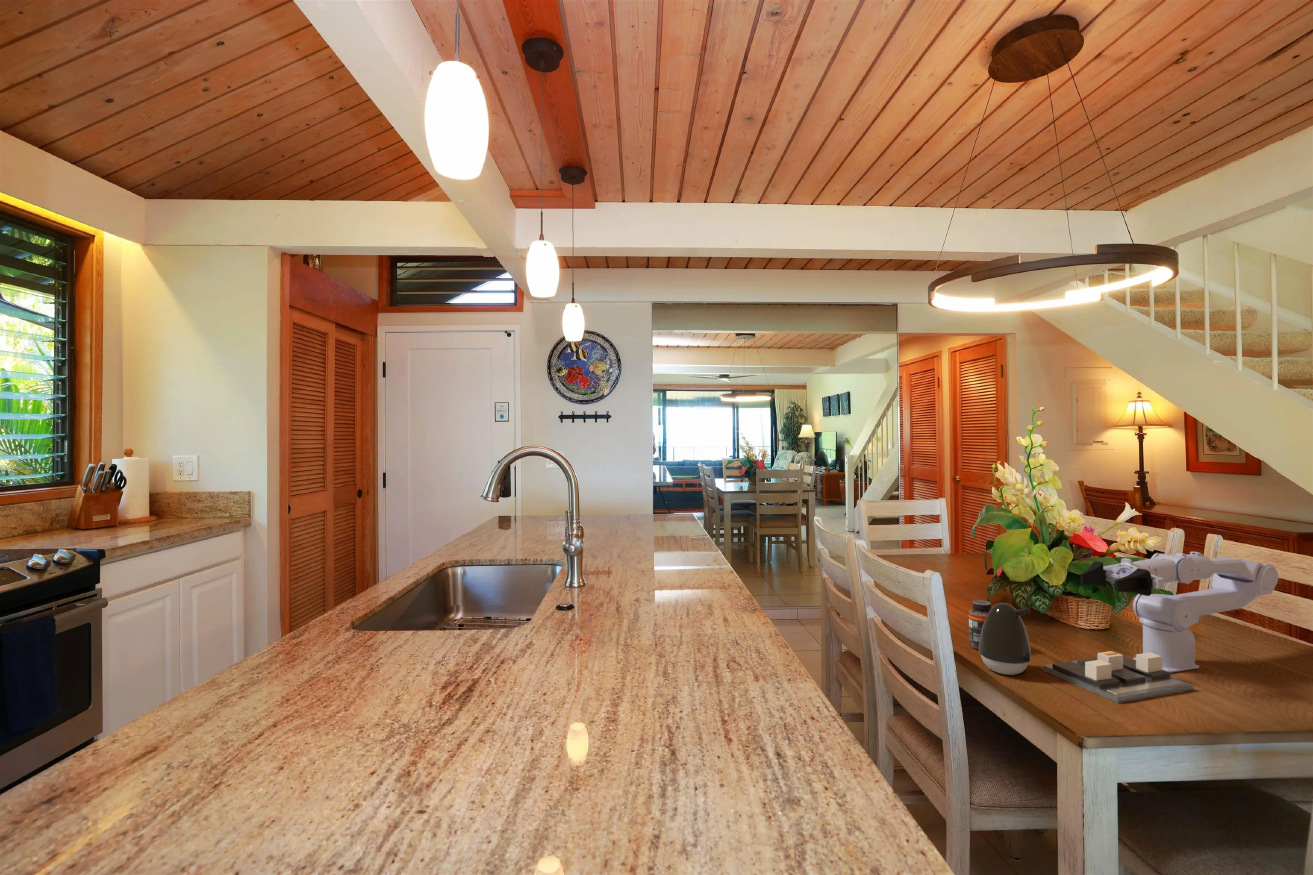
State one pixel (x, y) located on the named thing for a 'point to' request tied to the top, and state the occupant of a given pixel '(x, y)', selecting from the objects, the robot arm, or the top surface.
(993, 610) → the pump dispenser
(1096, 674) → the block
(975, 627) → the supplement bottle
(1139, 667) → the block
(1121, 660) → the breaker middle
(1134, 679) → the breaker panel
